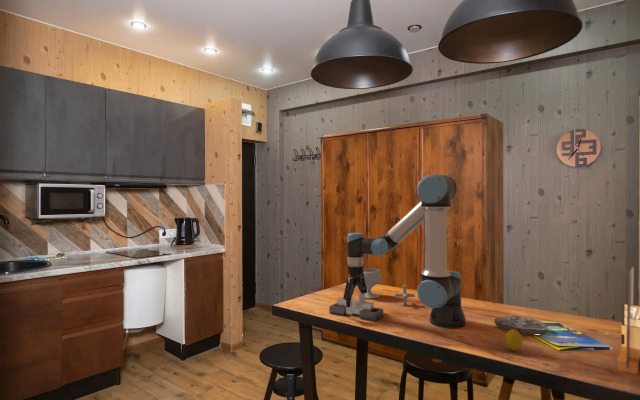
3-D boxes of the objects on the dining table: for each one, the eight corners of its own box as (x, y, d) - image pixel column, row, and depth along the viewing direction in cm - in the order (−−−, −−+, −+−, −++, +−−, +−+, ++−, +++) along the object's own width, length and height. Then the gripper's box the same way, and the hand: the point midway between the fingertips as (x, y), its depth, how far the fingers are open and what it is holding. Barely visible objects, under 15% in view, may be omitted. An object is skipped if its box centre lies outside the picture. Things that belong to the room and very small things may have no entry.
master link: (373, 314, 177) (373, 302, 177) (370, 316, 174) (370, 304, 174) (340, 308, 187) (340, 297, 187) (336, 310, 184) (336, 299, 184)
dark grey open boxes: (383, 316, 178) (383, 308, 178) (375, 321, 170) (375, 313, 170) (338, 308, 190) (338, 301, 190) (329, 313, 183) (329, 306, 183)
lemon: (504, 352, 135) (503, 329, 135) (506, 347, 139) (506, 325, 139) (521, 355, 131) (521, 332, 131) (523, 350, 136) (523, 328, 136)
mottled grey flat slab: (548, 327, 161) (548, 320, 161) (546, 339, 146) (546, 332, 146) (498, 319, 171) (498, 313, 171) (491, 330, 157) (491, 323, 157)
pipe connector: (413, 302, 201) (413, 283, 201) (416, 307, 191) (415, 287, 191) (394, 301, 202) (393, 283, 202) (396, 307, 192) (395, 287, 192)
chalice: (372, 301, 204) (371, 273, 204) (351, 296, 213) (351, 270, 213) (386, 296, 214) (386, 269, 214) (366, 292, 224) (366, 266, 224)
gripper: (360, 261, 193) (360, 302, 193) (335, 269, 172) (336, 315, 172) (373, 262, 189) (374, 304, 189) (350, 270, 168) (350, 318, 168)
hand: (355, 310), depth 180 cm, fingers open, 13 cm apart
